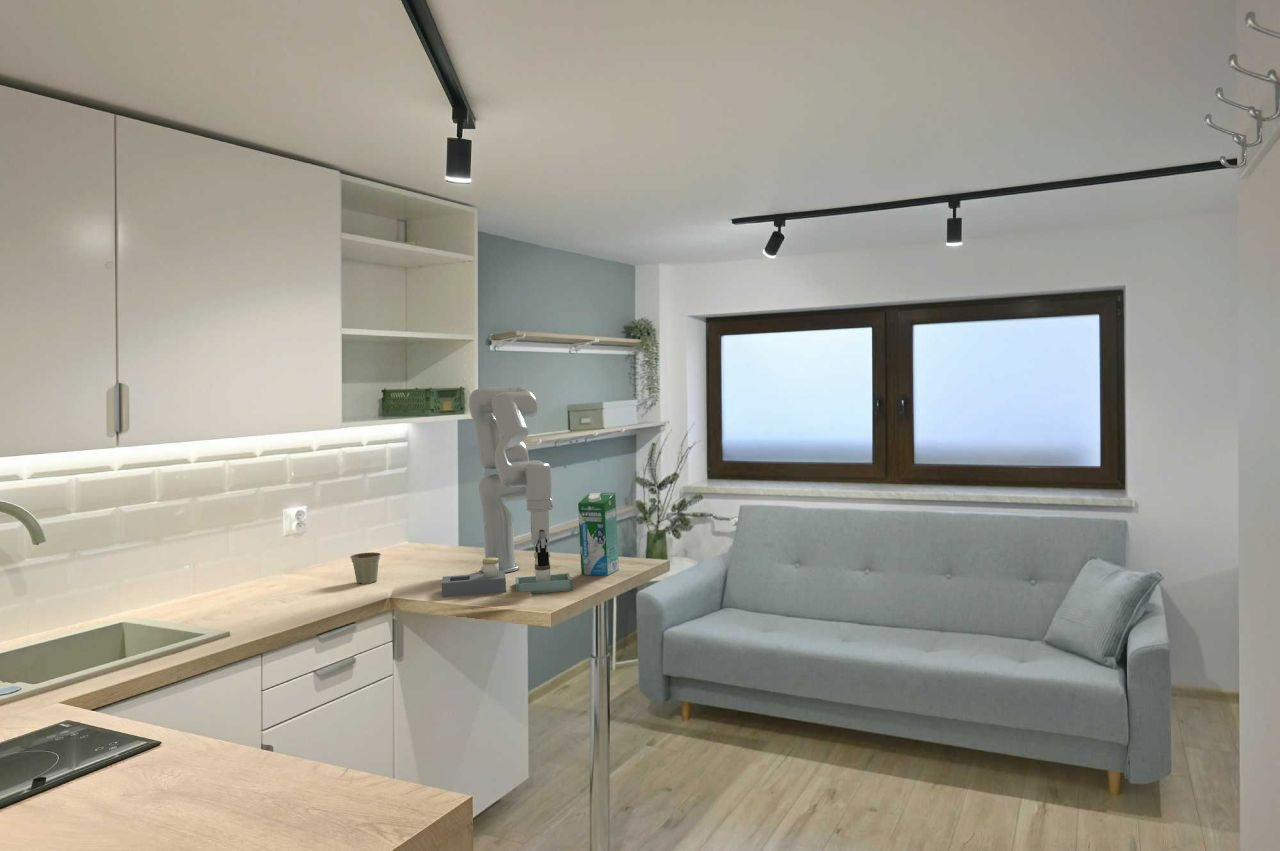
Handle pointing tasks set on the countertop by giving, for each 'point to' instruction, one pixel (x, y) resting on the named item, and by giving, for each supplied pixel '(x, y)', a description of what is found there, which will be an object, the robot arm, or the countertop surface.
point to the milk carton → (598, 534)
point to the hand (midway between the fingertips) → (542, 562)
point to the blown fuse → (542, 571)
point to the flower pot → (366, 567)
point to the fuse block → (476, 581)
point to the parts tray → (544, 584)
